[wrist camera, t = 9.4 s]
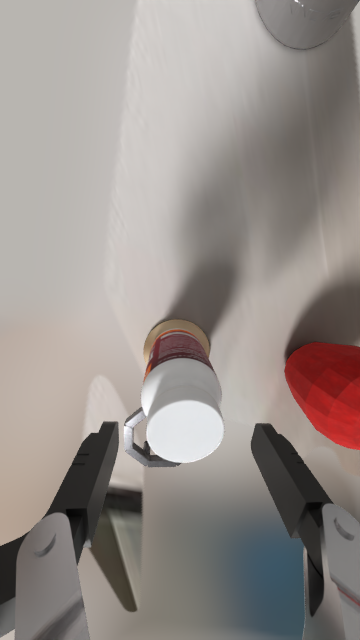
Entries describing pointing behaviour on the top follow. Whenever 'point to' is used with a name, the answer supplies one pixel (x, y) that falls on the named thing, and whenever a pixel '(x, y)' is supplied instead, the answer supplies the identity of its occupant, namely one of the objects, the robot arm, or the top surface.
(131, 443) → the ring stand
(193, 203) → the top surface
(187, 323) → the cork coaster
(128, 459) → the top surface
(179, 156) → the top surface
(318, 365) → the apple
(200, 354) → the pill bottle
